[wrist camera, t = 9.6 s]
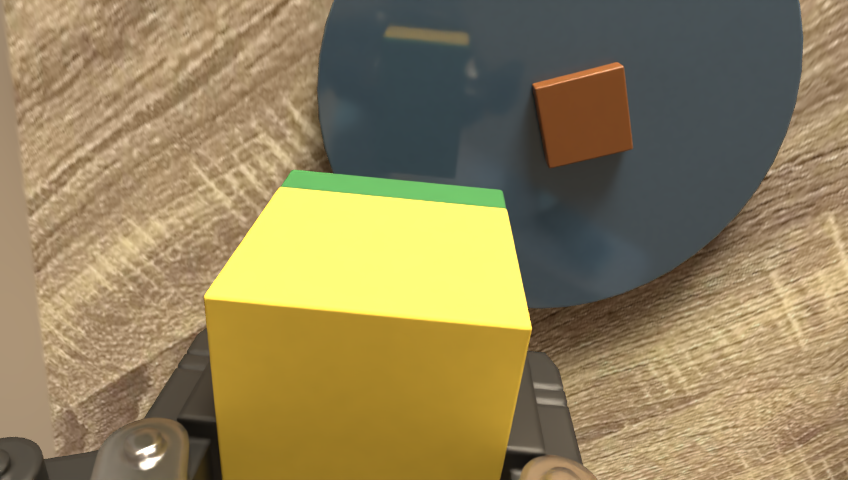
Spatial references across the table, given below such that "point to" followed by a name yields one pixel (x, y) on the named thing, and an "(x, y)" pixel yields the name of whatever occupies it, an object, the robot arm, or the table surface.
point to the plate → (520, 132)
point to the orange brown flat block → (583, 115)
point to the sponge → (369, 334)
